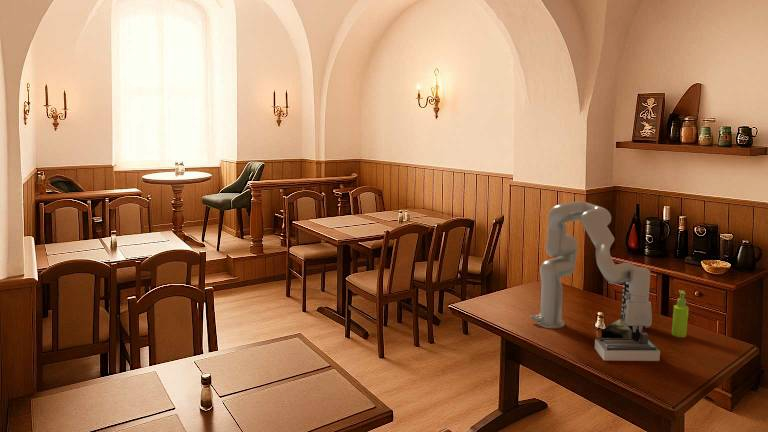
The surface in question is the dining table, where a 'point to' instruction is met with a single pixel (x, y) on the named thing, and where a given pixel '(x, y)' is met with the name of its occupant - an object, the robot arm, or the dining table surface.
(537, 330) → the dining table surface
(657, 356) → the box
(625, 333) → the juice carton
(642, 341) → the handle
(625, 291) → the spotted tube
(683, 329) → the soap dispenser
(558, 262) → the robot arm
